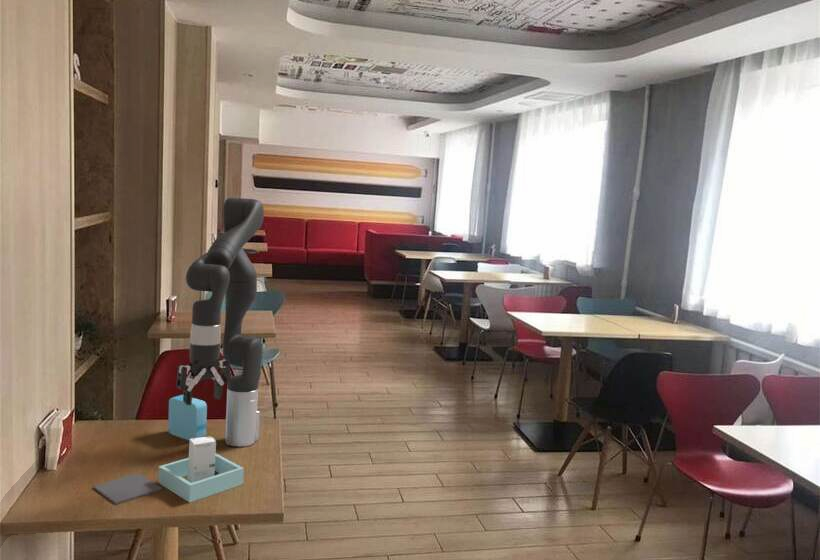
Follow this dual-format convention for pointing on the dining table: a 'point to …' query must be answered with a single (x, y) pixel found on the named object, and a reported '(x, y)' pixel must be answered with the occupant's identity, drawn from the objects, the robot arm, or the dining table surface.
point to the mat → (127, 488)
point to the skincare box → (201, 458)
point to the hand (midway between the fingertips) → (202, 401)
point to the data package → (187, 418)
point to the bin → (197, 490)
